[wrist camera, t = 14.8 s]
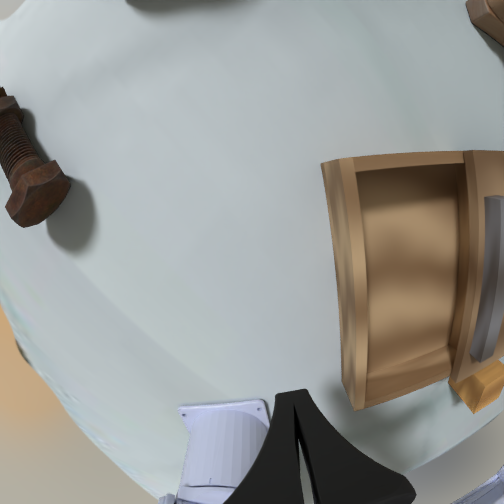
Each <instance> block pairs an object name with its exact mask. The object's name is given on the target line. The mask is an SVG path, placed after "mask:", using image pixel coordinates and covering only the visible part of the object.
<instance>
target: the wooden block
mask: <svg viewBox="0 0 504 504" xmlns="http://www.w3.org/2000/svg"><path fill="white" fill-rule="evenodd" d="M466 7H467V10H468V13H469V16H470V19H471V22H472V23H473V24H474V25H476V26H477V27H479V28H480V29H482V30H483V31H484V32H486V33H487V34H488V35H490V36H491V37H492V38H494V39H495V40H496V41H497V42H499V43H500V44H501V45H502V46H504V0H468V1H466Z"/></svg>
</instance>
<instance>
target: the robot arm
mask: <svg viewBox="0 0 504 504" xmlns="http://www.w3.org/2000/svg"><path fill="white" fill-rule="evenodd" d="M178 413H179V414H180V416H181V418H182V420H183V422H184V424H185V426H186V428H187V430H188V431H189V433H190V437H189V442H188V447H187V451H186V456H185V461H184V466H183V471H182V476H181V481H180V486H179V489H178V492H177V495H176V498H175V495H173V494H166V496H163V497H161V498H159V502H158V504H304V499H303V492H302V486H301V479H300V460H299V442H300V446H301V449H302V453H303V456H304V459H305V463H306V466H307V470H308V473H309V477H310V481H311V487H312V493H313V499H314V504H411V503H412V502H413V501H414V499H415V497H416V492H415V490H414V488H413V486H412V485H411V484H410V482H409V481H408V480H407V479H406V477H405V476H403V475H401V474H399V473H397V472H394V471H392V470H390V469H388V468H386V467H384V466H383V465H381V464H379V463H377V462H375V461H374V460H372V459H371V458H369V457H368V456H366V455H365V454H363V453H362V452H360V451H359V450H358V449H357V448H355V447H354V446H353V445H352V444H350V443H349V442H348V441H347V440H346V439H345V438H344V437H343V436H342V435H341V434H340V433H339V432H338V431H337V430H336V429H335V428H334V427H333V426H332V425H331V424H330V423H329V422H328V420H327V419H326V418H325V417H324V415H323V414H322V413H321V412H320V410H319V409H318V407H317V406H316V404H315V403H314V401H313V400H312V398H311V396H310V394H309V392H308V390H307V389H300V390H295V391H289V392H284V393H277V394H276V395H275V406H274V411H273V416H272V420H271V423H269V419H268V415H267V411H266V407H265V403H264V401H263V400H260V399H258V400H250V401H242V402H233V403H222V404H210V405H193V406H180V407H179V408H178ZM298 439H299V441H298ZM451 504H504V465H503V466H502V467H501V468H500V470H499V471H498V472H497V474H495V475H494V476H493V477H491V478H490V479H489V480H487V481H486V482H484V483H483V484H481V485H480V486H478V487H477V488H475V489H474V490H472V491H471V492H469V493H468V494H466V495H465V496H463V497H461V498H460V499H458V500H456V501H454V502H453V503H451Z"/></svg>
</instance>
